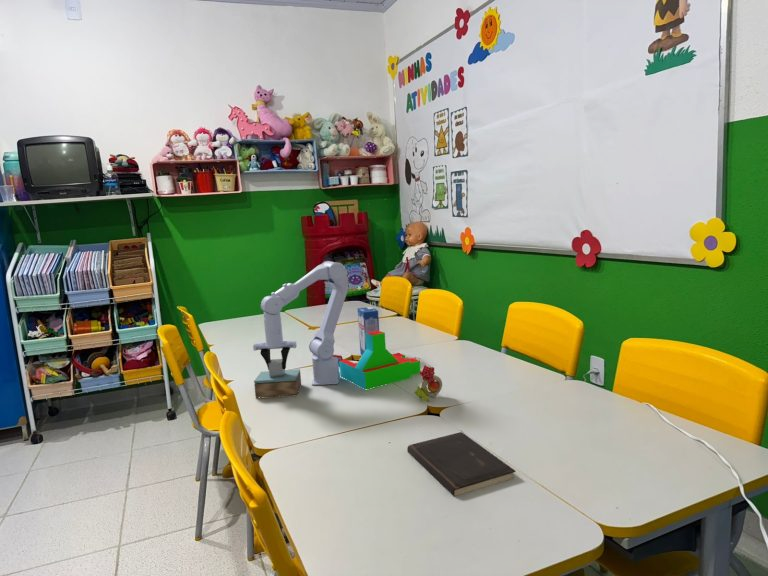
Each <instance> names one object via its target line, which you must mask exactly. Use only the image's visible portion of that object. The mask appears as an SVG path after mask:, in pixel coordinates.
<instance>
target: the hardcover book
mask: <svg viewBox="0 0 768 576" xmlns="http://www.w3.org/2000/svg"><path fill="white" fill-rule="evenodd" d="M407 453H408V454H409V455H410V456H411V457H412V458H413V459H414V460H415V461H416V462H417V463H418V464H419V465H421V467H422V468H424V469H425V470H426V471H427V473H429V474H430V475H431V477H433V478H434V479H435V480H436V481H437V482H438V483H439V484H440V485H441V486H442V487H443V488H445V490H446V491H447V492H449V494H451V495H452V496H453V498H454V497H456V496H459V495H462V494H465V493H468V492H473V491H474V490H478V489H482V488H484V487H487V486H491V485H494V484H497V483H501V482H504V481H507V480H511V479H513V478H514V473H516V470H515V469H514V468H512V467H511V466H509V465H508V464H507V463H505V462H504V461H502V460H501V459H500V458H499V457H497V456H495V455H494V454H493V453H491V452H490V451H489V450H487V449H486V448H485V447H483V446H482V445H480V444H479V443H478V442H477V441H475V440H473V439H472V438H470V437H469V436H468V435H466V434H465V433H464V432H462V431H461V432H456V433H452V434H448V435H444V436H440V437H437V438H432V439H428V440H424V441H420V442H416V443H413V444H409V445H408V446H407Z"/></svg>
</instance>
